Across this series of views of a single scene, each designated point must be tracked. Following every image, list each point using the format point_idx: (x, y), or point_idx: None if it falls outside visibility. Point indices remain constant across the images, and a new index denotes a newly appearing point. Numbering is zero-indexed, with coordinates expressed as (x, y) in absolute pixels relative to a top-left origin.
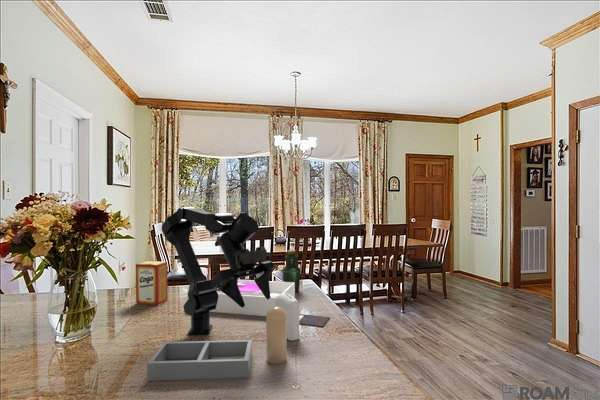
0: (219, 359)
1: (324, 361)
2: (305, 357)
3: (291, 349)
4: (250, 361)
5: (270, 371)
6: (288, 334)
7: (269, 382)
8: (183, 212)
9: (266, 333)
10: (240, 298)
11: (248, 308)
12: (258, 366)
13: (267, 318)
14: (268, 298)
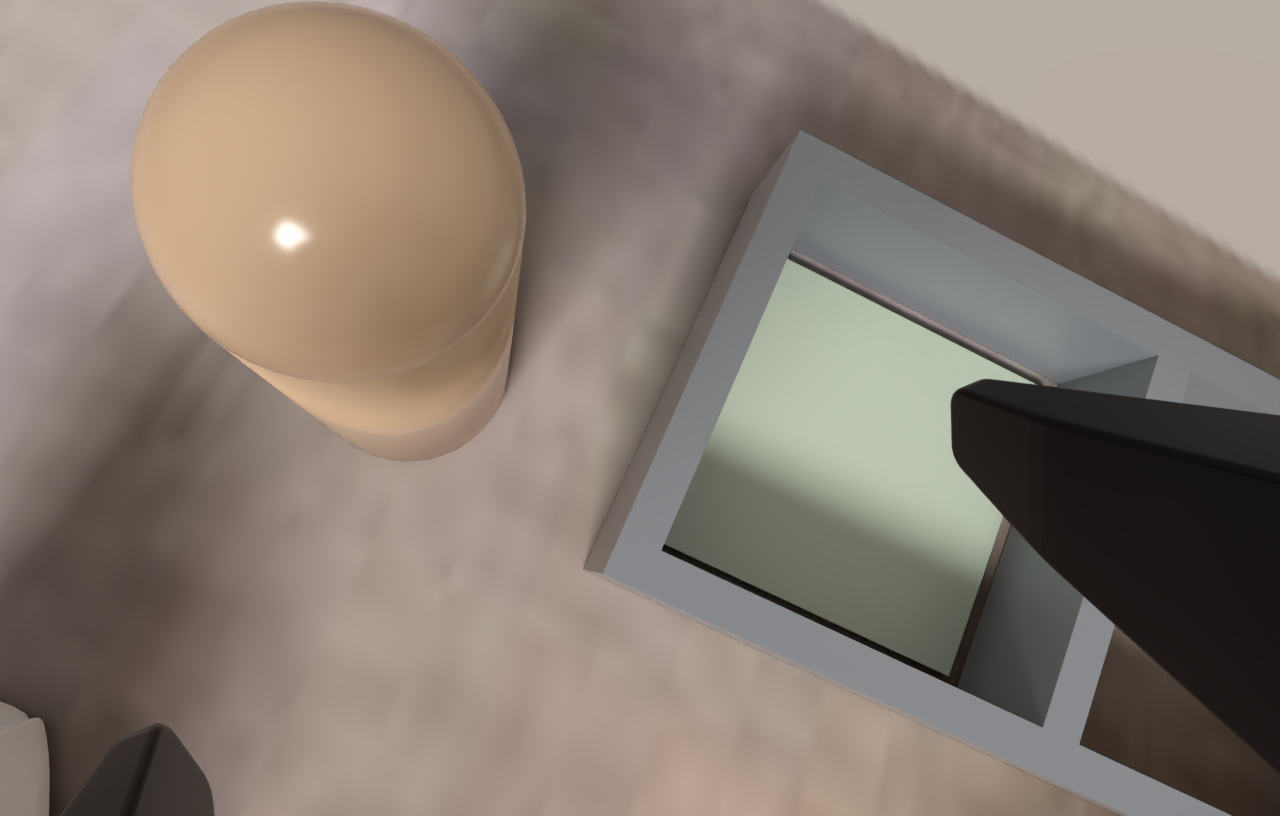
0: (1018, 283)
1: (11, 94)
2: (130, 257)
3: (154, 494)
4: (672, 378)
5: (558, 192)
6: (12, 737)
7: (633, 52)
8: None
9: (511, 327)
10: (1156, 408)
11: None
12: (614, 322)
13: (525, 196)
14: (182, 756)
